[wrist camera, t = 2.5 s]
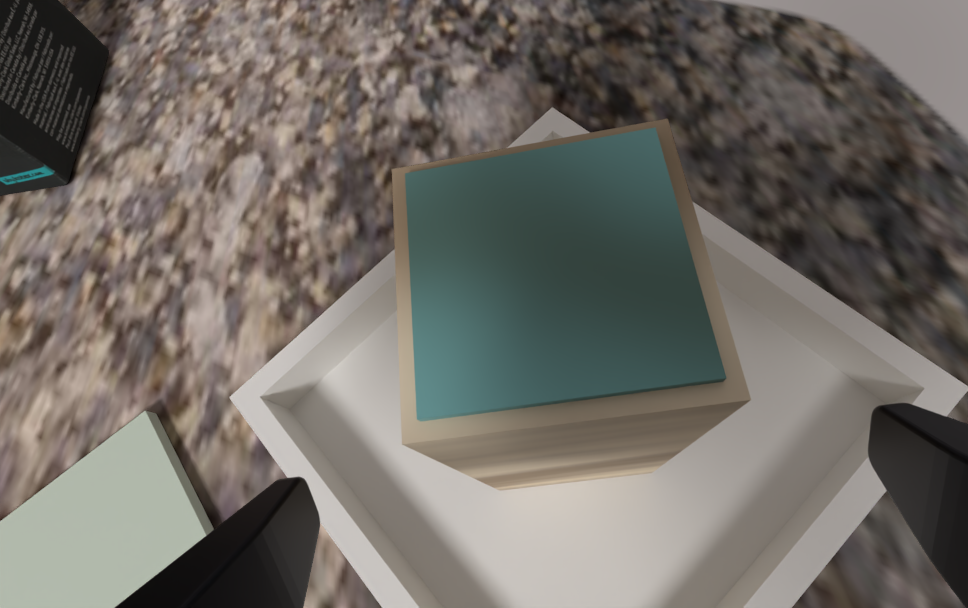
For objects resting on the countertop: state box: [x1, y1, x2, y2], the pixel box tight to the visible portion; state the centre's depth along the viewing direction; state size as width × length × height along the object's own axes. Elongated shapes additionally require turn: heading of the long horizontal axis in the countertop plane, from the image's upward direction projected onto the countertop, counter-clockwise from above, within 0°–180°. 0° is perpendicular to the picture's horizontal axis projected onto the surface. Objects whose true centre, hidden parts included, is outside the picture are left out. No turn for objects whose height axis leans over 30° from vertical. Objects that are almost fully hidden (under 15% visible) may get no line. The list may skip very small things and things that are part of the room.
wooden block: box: [392, 118, 751, 491], centre depth 14 cm, size 5×5×11 cm
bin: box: [229, 107, 968, 608], centre depth 18 cm, size 16×16×2 cm
